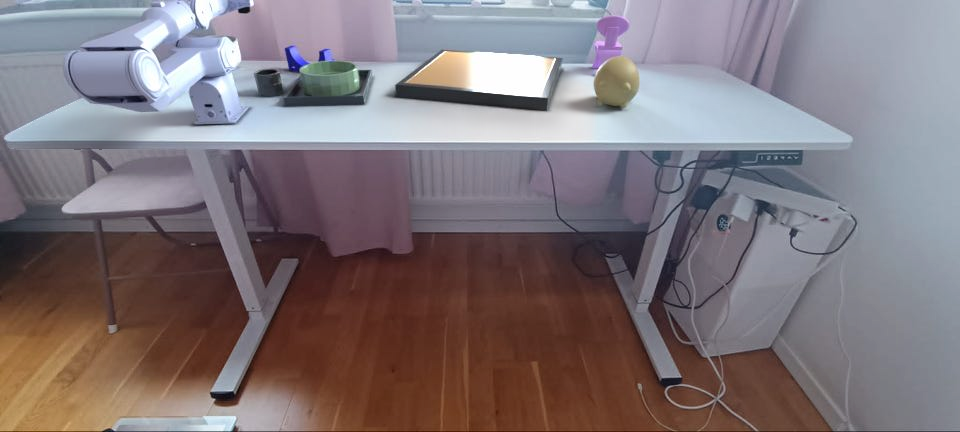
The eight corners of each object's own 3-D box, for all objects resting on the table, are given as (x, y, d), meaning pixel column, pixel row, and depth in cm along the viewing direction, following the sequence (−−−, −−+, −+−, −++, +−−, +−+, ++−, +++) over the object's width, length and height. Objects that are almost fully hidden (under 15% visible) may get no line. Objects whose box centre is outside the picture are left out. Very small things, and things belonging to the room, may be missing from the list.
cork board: (442, 59, 137) (396, 96, 108) (441, 49, 135) (395, 84, 106) (561, 68, 130) (546, 110, 101) (562, 58, 128) (547, 98, 99)
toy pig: (631, 121, 106) (641, 81, 108) (636, 94, 95) (648, 50, 97) (588, 114, 109) (600, 75, 111) (588, 86, 97) (601, 43, 100)
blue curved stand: (337, 70, 126) (333, 47, 123) (327, 75, 122) (323, 51, 119) (299, 66, 129) (294, 44, 125) (289, 70, 125) (284, 48, 122)
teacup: (252, 65, 129) (244, 35, 125) (231, 76, 120) (221, 44, 116) (205, 63, 131) (196, 33, 126) (180, 74, 121) (170, 42, 117)
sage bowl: (357, 98, 106) (354, 75, 103) (298, 100, 105) (293, 76, 102) (363, 81, 117) (360, 59, 114) (310, 83, 116) (305, 60, 113)
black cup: (281, 96, 107) (276, 75, 104) (256, 97, 106) (250, 75, 104) (286, 89, 112) (282, 68, 109) (262, 90, 111) (257, 69, 108)
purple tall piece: (617, 68, 131) (627, 11, 123) (622, 77, 123) (632, 17, 115) (587, 67, 131) (595, 10, 123) (590, 75, 124) (599, 16, 116)
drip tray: (364, 104, 103) (363, 95, 102) (285, 106, 102) (283, 97, 100) (372, 77, 121) (371, 69, 120) (305, 78, 119) (303, 70, 118)
